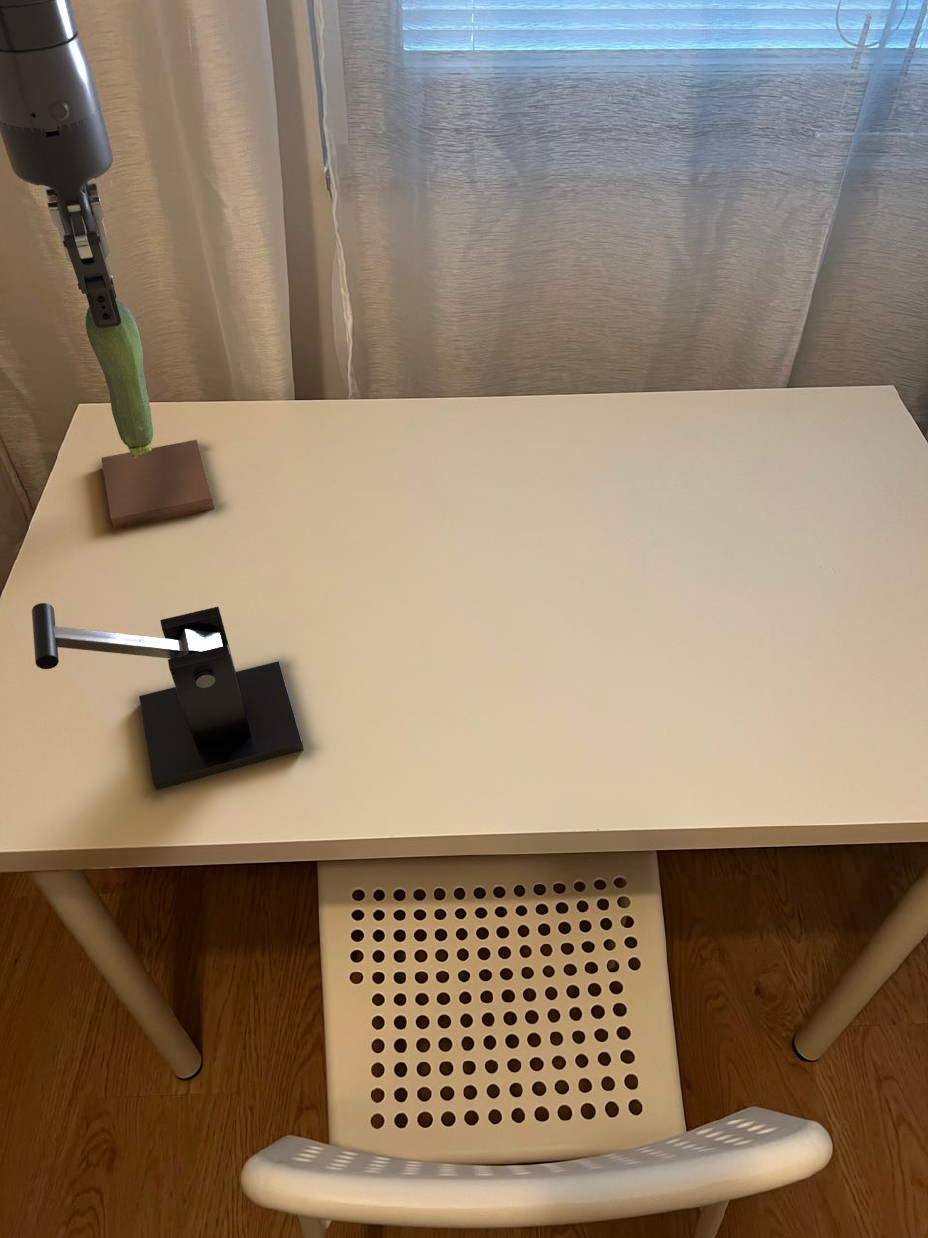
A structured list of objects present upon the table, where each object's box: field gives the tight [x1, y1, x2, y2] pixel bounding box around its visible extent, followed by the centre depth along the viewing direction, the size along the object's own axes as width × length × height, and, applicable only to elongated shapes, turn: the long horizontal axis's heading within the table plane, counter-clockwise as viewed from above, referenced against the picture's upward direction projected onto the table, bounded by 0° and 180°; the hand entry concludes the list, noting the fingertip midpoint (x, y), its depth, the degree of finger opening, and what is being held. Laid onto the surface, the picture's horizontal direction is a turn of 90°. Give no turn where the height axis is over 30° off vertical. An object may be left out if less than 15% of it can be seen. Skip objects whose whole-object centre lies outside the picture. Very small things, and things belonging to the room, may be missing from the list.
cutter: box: [138, 606, 305, 791], centre depth 74 cm, size 12×9×12 cm
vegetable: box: [85, 299, 154, 458], centre depth 87 cm, size 4×4×20 cm
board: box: [101, 439, 216, 530], centre depth 98 cm, size 10×10×2 cm
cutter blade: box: [31, 602, 223, 670], centre depth 68 cm, size 13×5×2 cm
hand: (106, 311), depth 83 cm, fingers closed on vegetable, 3 cm apart
